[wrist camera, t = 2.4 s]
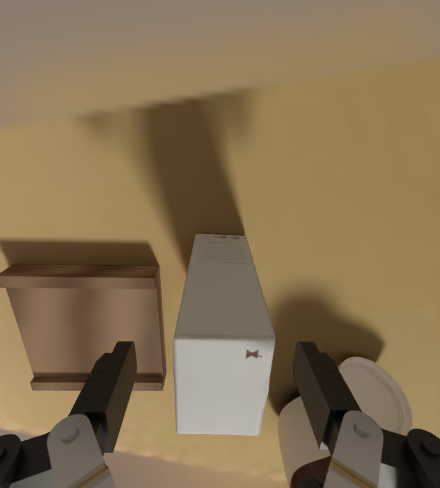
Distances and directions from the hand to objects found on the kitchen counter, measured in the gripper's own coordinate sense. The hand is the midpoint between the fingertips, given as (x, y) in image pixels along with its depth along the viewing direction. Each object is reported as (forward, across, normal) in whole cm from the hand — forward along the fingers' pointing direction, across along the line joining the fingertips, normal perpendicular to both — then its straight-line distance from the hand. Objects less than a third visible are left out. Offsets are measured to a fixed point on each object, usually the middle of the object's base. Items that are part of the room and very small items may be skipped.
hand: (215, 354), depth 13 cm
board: (+10, +10, +6) cm, 16 cm away
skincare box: (+10, 0, 0) cm, 10 cm away
